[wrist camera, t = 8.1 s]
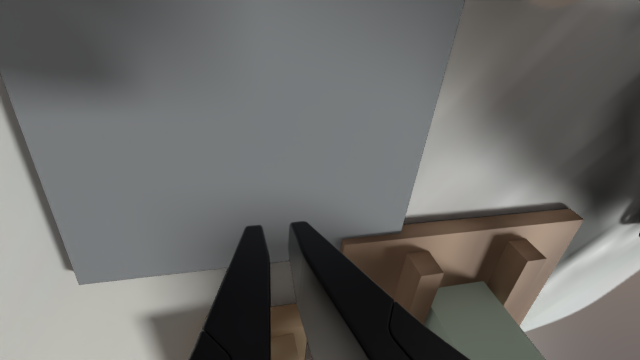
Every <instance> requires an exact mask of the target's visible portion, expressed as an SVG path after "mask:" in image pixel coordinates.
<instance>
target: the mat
mask: <svg viewBox="0 0 640 360" xmlns="http://www.w3.org/2000/svg"><path fill="white" fill-rule="evenodd" d="M464 2H465V0H0V74H1V77H2V79H3V82H4V85H5V87H6V90H7V93H8V95H9V98H10V101H11V103H12V106H13V109H14V111H15V114H16V117H17V119H18V122H19V125H20V128H21V130H22V133H23V136H24V138H25V141H26V144H27V146H28V149H29V152H30V154H31V157H32V160H33V162H34V165H35V168H36V171H37V173H38V176H39V179H40V181H41V184H42V187H43V189H44V192H45V195H46V197H47V200H48V203H49V205H50V208H51V211H52V214H53V216H54V219H55V222H56V224H57V227H58V230H59V232H60V235H61V238H62V240H63V243H64V246H65V248H66V251H67V254H68V257H69V259H70V262H71V265H72V267H73V270H74V273H75V275H76V278H77V281H78V283H79V285H82V284H91V283H99V282H108V281H117V280H126V279H134V278H143V277H152V276H161V275H169V274H178V273H187V272H196V271H204V270H213V269H222V268H228V267H229V264H230V262H231V260H232V257H233V255H234V252H235V250H236V248H237V245H238V243H239V241H240V238H241V236H242V233H243V231H244V229H245V227H246V226H251V225H261V226H262V227H263V231H264V235H265V239H266V243H267V247H268V251H269V256H270V263H274V262H283V261H290V260H289V254H288V240H289V226H290V223H291V222H298V221H306V222H308V223H309V224H310V225H311V226H312V227H313V228H314V229H315V230H317V231H318V232H319V233H320V234H321V235H322V236H323V237H324V238H326V239H327V240H328V241H329V242H330V243H331V244H332V245H333V246H335V247H336V248H337V249H338V250H339V251H340V248H341V242H342V239H350V238H360V237H370V236H379V235H389V234H399V233H401V230H402V226H403V223H404V219H405V215H406V212H407V208H408V205H409V201H410V197H411V194H412V190H413V186H414V183H415V179H416V176H417V172H418V168H419V165H420V161H421V157H422V154H423V150H424V147H425V143H426V139H427V136H428V132H429V128H430V125H431V121H432V118H433V114H434V110H435V107H436V103H437V99H438V96H439V92H440V89H441V85H442V81H443V78H444V74H445V70H446V67H447V63H448V60H449V56H450V52H451V49H452V45H453V41H454V38H455V34H456V31H457V27H458V23H459V20H460V16H461V12H462V9H463V5H464Z"/></svg>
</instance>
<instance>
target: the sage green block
mask: <svg viewBox="0 0 640 360" xmlns="http://www.w3.org/2000/svg"><path fill="white" fill-rule="evenodd" d="M424 325H425V326H426V327H427V328H428V329H430V330H431V331H432V332H434V333H435V334H436V335H438V336H439V337H440V338H442V339H443V340H444V341H445V342H447V343H448V344H450V345H451V346H452V347H454V348H455V349H456V350H458V351H459V352H460V353H462V354H463V355H465V356H466V357H467V358H469V359H470V360H546V359H545V358H544V357H543V356H542V354H541V353H540V352H539V350H538V349H537V348H536V347H535V346H534V344H533V343H532V342H531V340H530V339H529V338H528V337H527V335H526V334H525V333H524V332H523V330H522V329H521V328H520V327H519V325H518V324H517V323H516V322H515V320H514V319H513V318H512V316H511V315H510V314H509V313H508V311H507V310H506V309H505V308H504V306H503V305H502V304H501V303H500V301H499V300H498V299H497V298H496V296H495V295H494V294H493V293H492V291H491V290H490V289H489V287H488V286H487V285H486V284H485V282H484V281H480V282H474V283H467V284H460V285H454V286H447V287H440V288H438V290H437V293H436V295H435V298H434V300H433V303H432V305H431V308H430V311H429V313H428V316H427V318H426V321H425V323H424Z"/></svg>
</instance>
